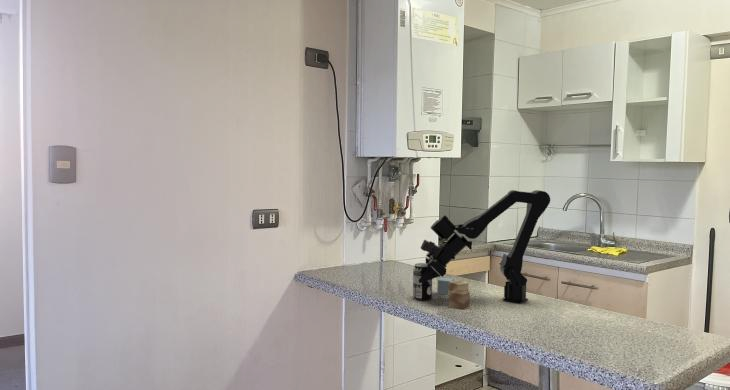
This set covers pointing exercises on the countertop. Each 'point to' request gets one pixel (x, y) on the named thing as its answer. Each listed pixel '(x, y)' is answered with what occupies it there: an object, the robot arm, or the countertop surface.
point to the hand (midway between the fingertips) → (418, 279)
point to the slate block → (443, 285)
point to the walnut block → (459, 299)
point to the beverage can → (421, 289)
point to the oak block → (457, 286)
